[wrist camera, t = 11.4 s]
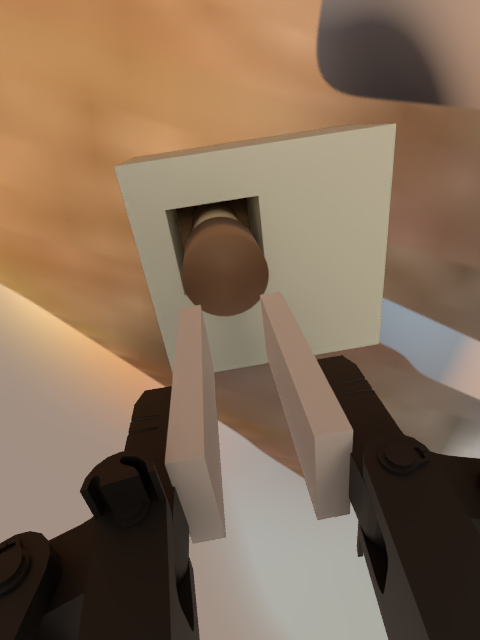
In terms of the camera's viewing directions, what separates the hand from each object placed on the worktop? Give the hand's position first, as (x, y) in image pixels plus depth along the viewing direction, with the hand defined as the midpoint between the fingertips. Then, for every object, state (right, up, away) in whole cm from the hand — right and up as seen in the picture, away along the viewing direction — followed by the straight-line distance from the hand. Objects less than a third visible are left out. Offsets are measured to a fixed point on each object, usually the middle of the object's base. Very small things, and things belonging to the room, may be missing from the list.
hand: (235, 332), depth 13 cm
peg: (-2, +8, +15) cm, 17 cm away
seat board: (+1, +7, +16) cm, 18 cm away
